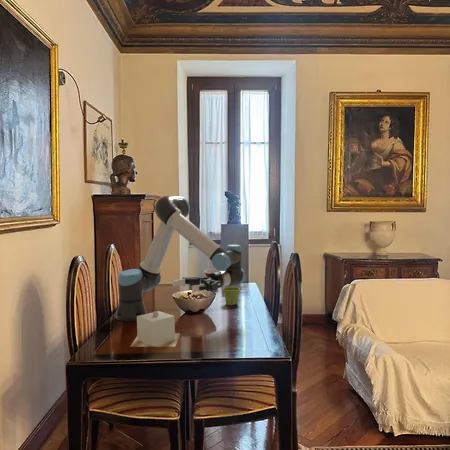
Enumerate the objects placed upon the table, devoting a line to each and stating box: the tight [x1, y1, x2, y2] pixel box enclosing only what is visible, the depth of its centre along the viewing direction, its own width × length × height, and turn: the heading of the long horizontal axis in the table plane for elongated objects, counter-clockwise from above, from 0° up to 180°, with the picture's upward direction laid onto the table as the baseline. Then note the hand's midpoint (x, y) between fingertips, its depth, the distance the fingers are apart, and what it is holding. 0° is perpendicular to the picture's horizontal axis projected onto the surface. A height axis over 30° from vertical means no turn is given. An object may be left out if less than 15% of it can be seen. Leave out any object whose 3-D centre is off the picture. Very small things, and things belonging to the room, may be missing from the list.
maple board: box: [129, 332, 181, 348], centre depth 183 cm, size 18×16×2 cm
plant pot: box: [222, 286, 241, 306], centre depth 245 cm, size 9×9×9 cm
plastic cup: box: [203, 268, 222, 277], centre depth 284 cm, size 11×11×12 cm
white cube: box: [136, 310, 176, 346], centre depth 182 cm, size 11×11×12 cm
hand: (182, 286), depth 192 cm, fingers open, 13 cm apart
